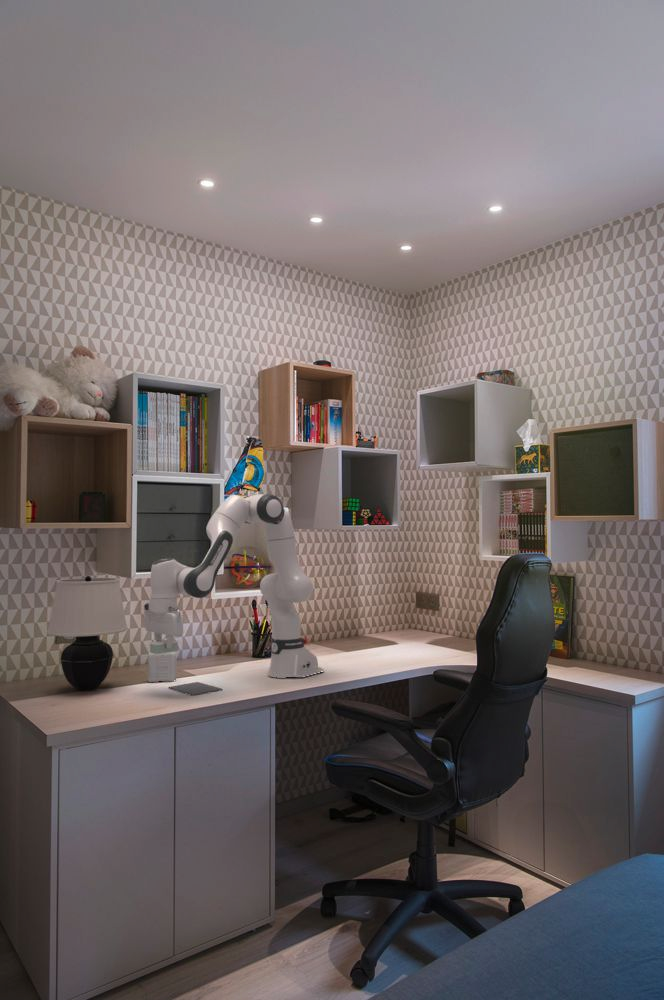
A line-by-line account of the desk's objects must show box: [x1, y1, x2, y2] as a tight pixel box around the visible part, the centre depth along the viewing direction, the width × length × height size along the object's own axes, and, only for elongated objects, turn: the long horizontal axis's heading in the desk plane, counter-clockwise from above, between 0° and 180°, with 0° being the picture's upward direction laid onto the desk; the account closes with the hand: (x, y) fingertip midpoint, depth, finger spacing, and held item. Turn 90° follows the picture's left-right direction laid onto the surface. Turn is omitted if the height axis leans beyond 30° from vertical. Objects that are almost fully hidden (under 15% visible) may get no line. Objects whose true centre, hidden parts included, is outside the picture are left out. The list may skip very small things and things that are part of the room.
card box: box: [149, 639, 179, 654], centre depth 240 cm, size 8×4×4 cm, turn 133°
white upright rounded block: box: [147, 651, 177, 683], centre depth 262 cm, size 10×4×12 cm, turn 104°
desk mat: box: [167, 681, 223, 696], centre depth 248 cm, size 12×16×1 cm
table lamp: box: [46, 575, 128, 692], centre depth 249 cm, size 27×27×40 cm
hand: (163, 646), depth 240 cm, fingers closed on card box, 4 cm apart
